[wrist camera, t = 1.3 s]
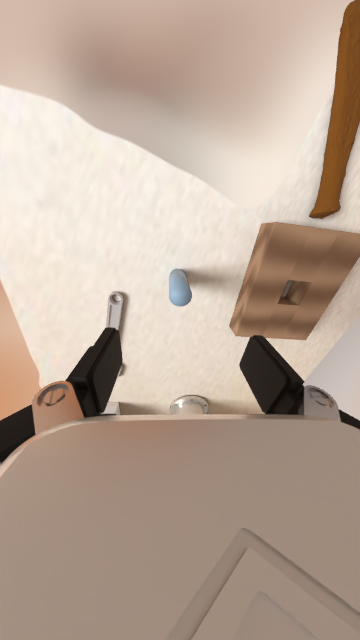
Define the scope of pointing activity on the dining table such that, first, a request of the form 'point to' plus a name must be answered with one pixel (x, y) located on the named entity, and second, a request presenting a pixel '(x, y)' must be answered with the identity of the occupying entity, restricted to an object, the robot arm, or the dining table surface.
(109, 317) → the adjustable wrench
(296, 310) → the hole block
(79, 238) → the dining table surface
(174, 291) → the peg
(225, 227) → the dining table surface
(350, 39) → the primitive tool
